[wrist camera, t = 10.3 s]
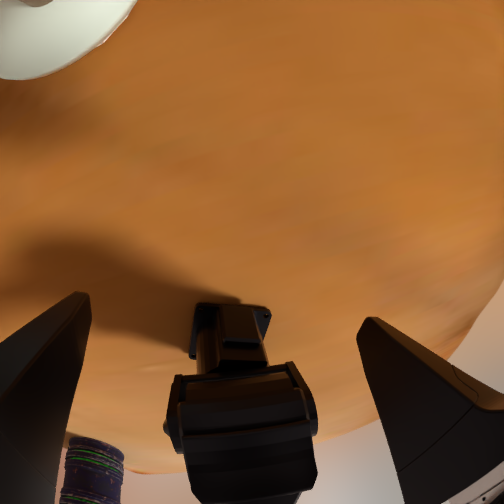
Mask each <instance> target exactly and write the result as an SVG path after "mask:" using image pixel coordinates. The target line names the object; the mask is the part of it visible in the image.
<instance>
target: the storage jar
mask: <svg viewBox="0 0 504 504" xmlns="http://www.w3.org/2000/svg"><path fill="white" fill-rule="evenodd" d="M65 459H66V461H65V467H64V468H65V470H66V471H65V478H64V485H63V488H62V489H61V492H60V493H61V497H60V501H59V504H120V493H121V485H122V484H123V475H124V474H123V473H124V469H123V461H124V455H123V453H122V452H121V451H120V450H118V449H117V448H115V447H113V446H111V445H109V444H107V443H104V442H102V441H99V440H95V439H91V438H86V437H73V438H71V439H70V440H69V447H68V451H67V453H66V458H65Z"/></svg>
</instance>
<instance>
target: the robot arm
mask: <svg viewBox="0 0 504 504" xmlns="http://www.w3.org/2000/svg"><path fill="white" fill-rule="evenodd" d="M199 308H203V310H200V309H199ZM264 314H267V315H264ZM271 316H272V314H271V311H270V310H269V309H265V308H253V307H245V306H234V305H224V304H223V305H220V304H211V303H197V304H196V305H195V310H194V317H193V324H192V331H191V338H190V346H189V358H190V359H193V360H197V374H196V375H182V374H178V375H175V377H174V382H173V383H172V385H171V391H170V397H169V402H168V408H167V414H166V419H165V421H164V424H163V430H164V432H165V433H166V434H167V435H168V436H169V437H170V438H171V441H172V444H173V447H174V449H175V451H176V453H177V454H184V459H185V464H186V469H187V473H188V478H189V482H190V484H191V491H192V493H193V494H194V495H195V496H196V498H197V499H198V500H199V501H200V502H201V504H296V502H297V500H298V499H299V497H300V495H301V493H302V492H303V491H307V490H311V489H312V488H313V486H314V483H315V481H316V478H317V474H318V472H317V467H316V462H315V458H314V450H313V442H312V437H313V436H316V434H317V431H318V417H317V410H316V405H315V402H314V398H313V396H312V393H311V391H310V389H309V388H308V386H307V384H306V383H305V381H304V379H303V378H302V376H301V374H300V372H299V371H298V369H297V367H296V366H295V364H294V362H293V361H290V362H285V364H280V365H273V366H270V365H269V362H268V358H267V354H266V351H265V347H264V344H263V340H264V337H265V334H266V331H267V328H268V325H269V322H270V319H271ZM91 321H92V313H91V305H90V297H89V294H88V293H85V292H79V291H75V292H74V293H72V294H70V295H69V296H67V297H66V298H64V299H63V300H61V301H60V302H58V303H57V304H55V305H54V306H52V307H51V308H49V309H48V310H46V311H45V312H43V313H42V314H40V315H39V316H38V317H36V318H35V319H33V320H32V321H30V322H29V323H27V324H26V325H25V326H23V327H22V328H20V329H19V330H17V331H16V332H15V333H13V334H12V335H11V336H9V337H8V338H6V339H5V340H4V341H2V342H1V343H0V504H54V502H55V492H56V488H55V487H56V483H57V477H58V470H59V464H60V458H61V452H62V447H63V442H64V437H65V432H66V427H67V423H68V419H69V414H70V410H71V406H72V402H73V398H74V395H75V391H76V387H77V384H78V380H79V377H80V373H81V370H82V366H83V361H84V356H85V351H86V345H87V340H88V335H89V331H90V326H91ZM356 341H357V345H358V348H359V352H360V356H361V360H362V364H363V368H364V372H365V375H366V379H367V382H368V384H369V387H370V390H371V393H372V396H373V399H374V402H375V405H376V408H377V411H378V414H379V417H380V420H381V423H382V426H383V429H384V432H385V435H386V438H387V441H388V445H389V448H390V452H391V455H392V458H393V462H394V465H395V469H396V472H397V476H398V480H399V483H400V487H401V490H402V494H403V498H404V502H405V504H441V503H443V502H445V501H447V500H449V502H450V504H504V394H502V393H500V392H498V391H496V390H494V389H493V388H491V387H489V386H487V385H485V384H483V383H482V382H480V381H478V380H476V379H475V378H473V377H471V376H470V375H468V374H466V373H465V372H463V371H462V370H460V369H458V368H457V367H455V366H454V365H451V364H450V363H449V362H447V361H446V360H444V359H443V358H441V357H440V356H438V355H437V354H435V353H433V352H432V351H430V350H429V349H427V348H426V347H424V346H422V345H421V344H419V343H418V342H416V341H415V340H413V339H411V338H410V337H408V336H407V335H405V334H404V333H402V332H400V331H399V330H397V329H396V328H394V327H393V326H391V325H389V324H388V323H386V322H385V321H383V320H381V319H380V318H378V317H367V318H366V319H365V320H364V322H363V324H362V326H361V328H360V329H359V331H358V333H357V337H356ZM193 354H195V355H193Z"/></svg>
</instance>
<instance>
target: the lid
mask: <svg viewBox="0 0 504 504" xmlns="http://www.w3.org/2000/svg"><path fill="white" fill-rule="evenodd" d="M137 1H138V0H0V78H3V79H10V80H32V79H37V78H41V77H45V76H48V75H50V74H53V73H56V72H58V71H60V70H62V69H64V68H66V67H68V66H69V65H71V64H73V63H75V62H76V61H78V60H79V59H81V58H82V57H84V56H85V55H86V54H88V53H89V52H91V51H92V50H93V49H94V48H96V47H97V46H98V45H99V44H100V43H102V42H103V41H104V40H105V39H106V38H107V37H108V36H109V35H110V34H111V33H112V32H113V31H114V30H115V29H116V28H117V27H118V26H119V25H120V24H121V23H122V21H123V20H124V19H125V17H126V16H127V15H128V14H129V12H130V11H131V10H132V8H133V7H134V5H135V4H136V2H137Z"/></svg>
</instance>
